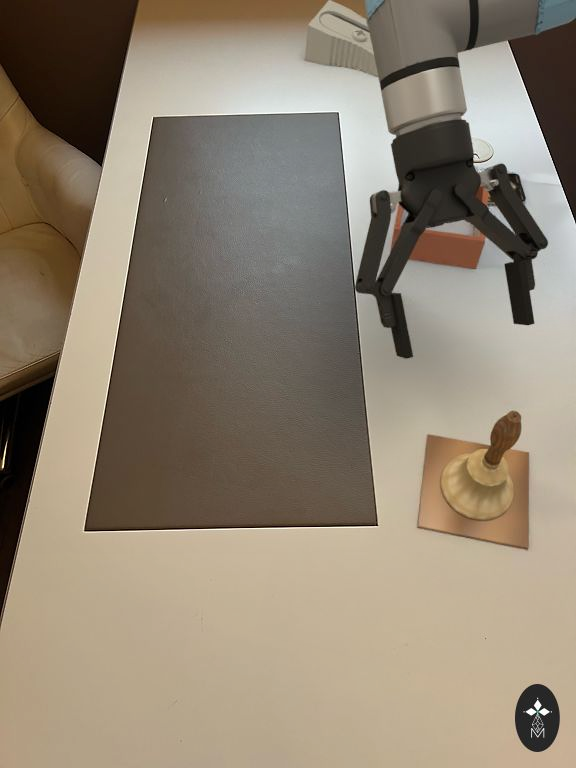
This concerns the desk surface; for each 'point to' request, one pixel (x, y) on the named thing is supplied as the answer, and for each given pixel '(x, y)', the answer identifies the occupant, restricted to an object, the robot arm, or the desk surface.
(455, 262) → the open box
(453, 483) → the hand bell
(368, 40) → the wedge sharpener
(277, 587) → the desk surface
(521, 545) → the copper plate
